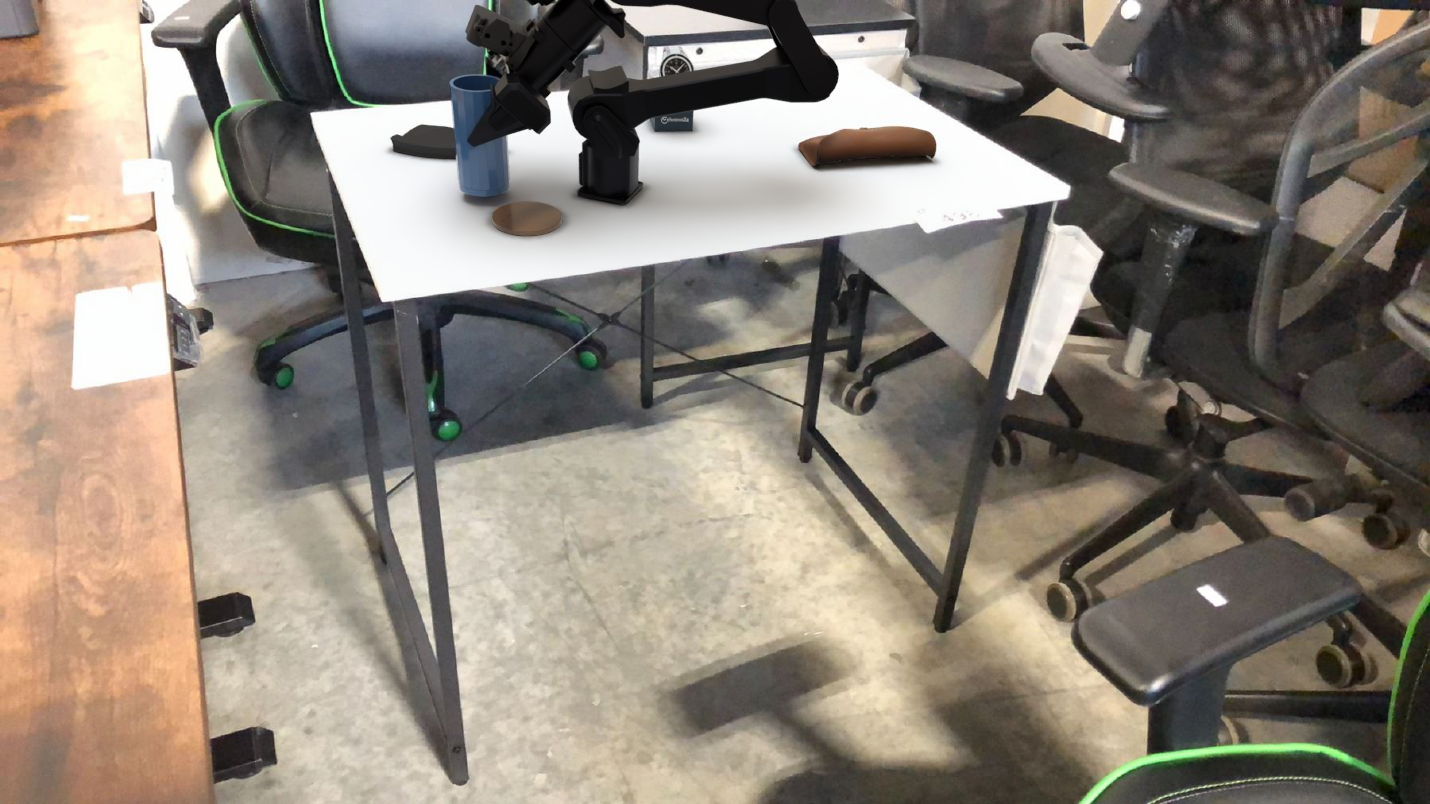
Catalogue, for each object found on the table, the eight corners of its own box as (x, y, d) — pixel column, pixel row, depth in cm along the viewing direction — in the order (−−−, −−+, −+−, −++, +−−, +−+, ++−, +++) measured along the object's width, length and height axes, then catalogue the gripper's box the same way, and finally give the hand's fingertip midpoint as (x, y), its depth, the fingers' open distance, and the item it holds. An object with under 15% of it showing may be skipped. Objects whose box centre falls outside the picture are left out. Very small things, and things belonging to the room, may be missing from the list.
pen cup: (518, 181, 121) (513, 79, 114) (495, 200, 116) (487, 95, 109) (474, 172, 122) (466, 71, 115) (449, 191, 118) (439, 86, 110)
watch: (656, 136, 140) (659, 57, 133) (648, 116, 146) (650, 39, 140) (695, 135, 141) (700, 57, 134) (685, 115, 147) (689, 40, 141)
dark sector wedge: (483, 168, 127) (482, 156, 126) (388, 151, 129) (387, 139, 128) (512, 146, 133) (511, 134, 132) (422, 129, 136) (420, 118, 135)
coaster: (573, 213, 118) (573, 208, 117) (543, 241, 111) (543, 236, 111) (512, 201, 119) (512, 196, 119) (479, 227, 113) (479, 222, 113)
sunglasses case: (908, 136, 144) (926, 105, 139) (922, 176, 142) (942, 146, 136) (793, 143, 139) (807, 111, 134) (806, 184, 137) (821, 154, 131)
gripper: (500, -39, 114) (411, 59, 118) (514, 4, 99) (412, 115, 103) (570, 31, 120) (484, 122, 124) (593, 82, 106) (494, 183, 110)
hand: (468, 133), depth 115 cm, fingers closed on pen cup, 6 cm apart
